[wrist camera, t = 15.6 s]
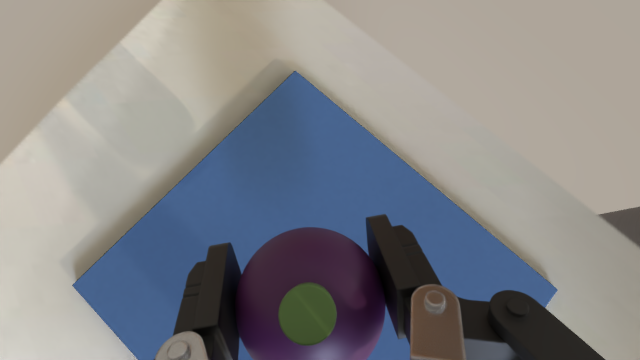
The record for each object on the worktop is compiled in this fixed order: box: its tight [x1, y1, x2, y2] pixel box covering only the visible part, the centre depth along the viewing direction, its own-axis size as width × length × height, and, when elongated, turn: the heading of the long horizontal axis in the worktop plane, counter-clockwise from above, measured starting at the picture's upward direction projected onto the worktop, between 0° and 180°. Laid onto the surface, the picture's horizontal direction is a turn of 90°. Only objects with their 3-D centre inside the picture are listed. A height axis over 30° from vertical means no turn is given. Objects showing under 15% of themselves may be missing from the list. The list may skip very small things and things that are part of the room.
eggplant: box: [235, 227, 386, 360], centre depth 13 cm, size 5×5×9 cm
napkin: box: [72, 71, 557, 360], centre depth 20 cm, size 20×18×1 cm
